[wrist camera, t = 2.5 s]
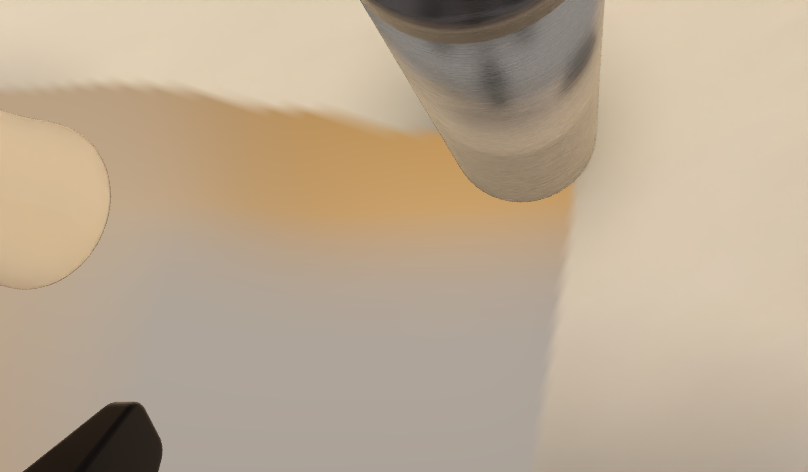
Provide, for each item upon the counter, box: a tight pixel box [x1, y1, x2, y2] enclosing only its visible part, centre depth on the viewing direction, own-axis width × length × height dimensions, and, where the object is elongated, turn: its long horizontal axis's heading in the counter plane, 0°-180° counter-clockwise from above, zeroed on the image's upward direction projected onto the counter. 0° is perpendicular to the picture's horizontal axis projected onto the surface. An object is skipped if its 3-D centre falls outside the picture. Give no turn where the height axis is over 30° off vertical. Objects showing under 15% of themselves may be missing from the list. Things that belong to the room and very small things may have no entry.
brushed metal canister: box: [360, 0, 604, 202], centre depth 18 cm, size 4×4×13 cm
